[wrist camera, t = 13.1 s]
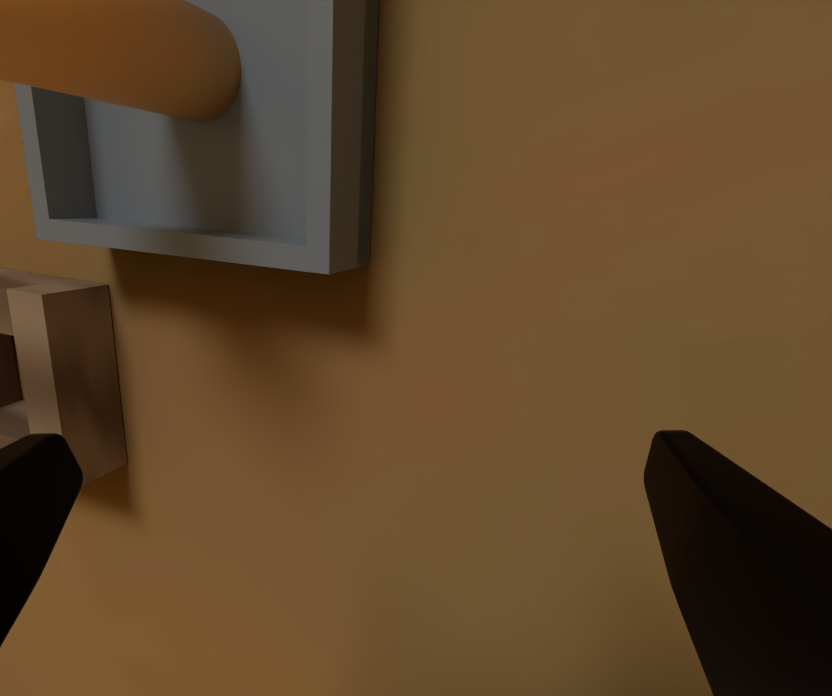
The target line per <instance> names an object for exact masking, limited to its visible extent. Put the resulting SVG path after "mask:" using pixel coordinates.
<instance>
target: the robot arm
mask: <svg viewBox="0 0 832 696" xmlns="http://www.w3.org/2000/svg"><path fill="white" fill-rule="evenodd" d="M82 483H83V472H82V469H81V467H80V465H79V464H78V462H77V460H76V458H75V456H74V454H73V452H72V450H71V448H70V447H69V445H68V443H67V441H66V439H65V438H64V437H63V436H61V435H60V434H56V433H35V434H30V435H27V436H25V437H23V438H21V439H19V440H17V441H15V442H13V443H11V444H9V445H7V446H5V447H3V448H1V449H0V647H1V645H2V643H3V641H4V640H5V638H6V636H7V635H8V633H9V631H10V629H11V628H12V626H13V624H14V622H15V621H16V619H17V617H18V615H19V614H20V612H21V610H22V608H23V607H24V605H25V603H26V601H27V600H28V598H29V596H30V594H31V593H32V591H33V589H34V587H35V585H36V583H37V582H38V580H39V578H40V576H41V574H42V572H43V570H44V568H45V565H46V563H47V561H48V559H49V557H50V555H51V553H52V550H53V548H54V546H55V544H56V542H57V539H58V537H59V535H60V533H61V531H62V528H63V526H64V524H65V522H66V520H67V518H68V515H69V513H70V511H71V509H72V507H73V504H74V502H75V500H76V498H77V496H78V493H79V491H80V489H81V487H82ZM644 485H645V490H646V494H647V497H648V501H649V505H650V509H651V512H652V516H653V520H654V524H655V527H656V531H657V535H658V539H659V542H660V546H661V550H662V554H663V557H664V561H665V565H666V569H667V572H668V576H669V579H670V582H671V586H672V589H673V592H674V594H675V597H676V600H677V603H678V605H679V608H680V611H681V613H682V616H683V618H684V621H685V623H686V626H687V629H688V631H689V634H690V636H691V639H692V641H693V644H694V647H695V649H696V652H697V654H698V657H699V659H700V662H701V665H702V667H703V670H704V672H705V675H706V677H707V680H708V683H709V685H710V688H711V690H712V693H713V696H832V529H831V528H829V527H828V526H826V525H825V524H823V523H822V522H821V521H819V520H818V519H816V518H815V517H813V516H812V515H810V514H809V513H807V512H806V511H804V510H803V509H801V508H800V507H799V506H797V505H796V504H794V503H793V502H791V501H790V500H788V499H787V498H785V497H784V496H782V495H781V494H779V493H778V492H777V491H775V490H774V489H772V488H771V487H769V486H768V485H766V484H765V483H763V482H762V481H760V480H759V479H757V478H756V477H755V476H753V475H752V474H750V473H749V472H747V471H746V470H744V469H743V468H741V467H740V466H738V465H737V464H735V463H734V462H733V461H731V460H730V459H728V458H727V457H725V456H724V455H722V454H721V453H719V452H718V451H716V450H715V449H713V448H712V447H711V446H709V445H708V444H706V443H705V442H703V441H702V440H700V439H699V438H697V437H696V436H694V435H693V434H691V433H690V432H688V431H683V430H661V431H658V432H657V433H656V434H655V435H654V437H653V439H652V443H651V447H650V451H649V455H648V459H647V462H646V466H645V470H644Z"/></svg>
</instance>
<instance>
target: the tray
mask: <svg viewBox="0 0 832 696" xmlns="http://www.w3.org/2000/svg"><path fill="white" fill-rule="evenodd" d="M186 1H188V2H190V3H192V4H194V5H196V6H198V7H200V8H202V9H204V10H206V11H208V12H210V13H212V14H213V15H215V16H217V17H218V18H219V19H220V20H222V21H223V22H224V23H225V25H226V26H227V27H228V28H229V30H230V31H231V33H232V35H233V37H234V39H235V41H236V44H237V47H238V50H239V55H240V61H241V77H240V84H239V88H238V92H237V94H236V97H235V99H234V101H233V103H232V104H231V106H230V107H229V109H228V110H227V111H226V112H225V113H224V114H223V115H222V116H220V117H219V118H217V119H215V120H212V121H209V122H195V121H190V120H186V119H181V118H176V117H172V116H167V115H162V114H158V113H153V112H148V111H144V110H139V109H134V108H130V107H125V106H121V105H116V104H111V103H107V102H102V101H97V100H93V99H88V98H83V97H79V96H74V95H69V94H65V93H60V92H56V91H51V90H46V89H42V88H37V87H32V86H28V85H23V84H18V83H14V84H15V91H16V98H17V105H18V112H19V119H20V126H21V132H22V139H23V146H24V153H25V160H26V167H27V174H28V181H29V188H30V195H31V202H32V209H33V216H34V222H35V229H36V236H37V239H42V240H50V241H58V242H66V243H75V244H83V245H91V246H99V247H107V248H116V249H124V250H132V251H140V252H148V253H157V254H165V255H173V256H181V257H189V258H197V259H206V260H214V261H222V262H230V263H238V264H247V265H255V266H263V267H271V268H279V269H287V270H296V271H304V272H312V273H320V274H328V275H329V274H333V273H338V272H342V271H346V270H350V269H354V268H358V267H363V266H367V265H369V257H370V231H371V204H372V178H373V151H374V124H375V98H376V71H377V45H378V18H379V0H186Z"/></svg>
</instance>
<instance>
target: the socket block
mask: <svg viewBox="0 0 832 696" xmlns="http://www.w3.org/2000/svg"><path fill="white" fill-rule="evenodd" d="M11 335H12V336H14V339H15V345H16V351H17V357H18V363H19V369H20V375H21V381H22V387H23V393H24V399H25V401H23V400H22V397H21V391H20V385H19V379H18V373H17V367H16V362H15V356H14V350H13V344H12V338H11ZM35 433H56V434H60V435H61V436H63V437H64V438H65V439H66V441H67V443H68V445H69V447H70V448H71V450H72V452H73V454H74V456H75V458H76V460H77V462H78V464H79V465H80V467H81V469H82V472H83V483H82V487H83V486H85V485H87V484H89V483H91V482H92V481H94V480H96V479H98V478H100V477H102V476H104V475H106V474H107V473H109V472H111V471H113V470H115V469H117V468H119V467H120V466H122V465H124V464H126V463H127V456H126V447H125V438H124V428H123V419H122V410H121V401H120V391H119V382H118V373H117V364H116V355H115V345H114V336H113V327H112V318H111V308H110V299H109V290H108V285H107V284H101V283H94V282H87V281H81V280H74V279H68V278H61V277H54V276H48V275H41V274H34V273H28V272H21V271H15V270H8V269H1V268H0V449H1V448H3V447H5V446H7V445H9V444H11V443H13V442H15V441H17V440H19V439H21V438H23V437H25V436H27V435H30V434H35Z"/></svg>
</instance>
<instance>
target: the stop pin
mask: <svg viewBox="0 0 832 696" xmlns="http://www.w3.org/2000/svg"><path fill="white" fill-rule="evenodd" d="M240 77H241V61H240V55H239V50H238V47H237V44H236V41H235V39H234V37H233V35H232V33H231V31H230V30H229V28H228V27H227V26H226V25H225V23H224V22H223V21H222V20H220V19H219V18H218V17H217V16H215V15H213V14H212V13H210V12H208V11H206V10H204V9H202V8H200V7H198V6H196V5H194V4H192V3H190V2H188V1H186V0H0V80H4V81H9V82H14V83H18V84H23V85H28V86H32V87H37V88H42V89H46V90H51V91H56V92H60V93H65V94H69V95H74V96H79V97H83V98H88V99H93V100H97V101H102V102H107V103H111V104H116V105H121V106H125V107H130V108H134V109H139V110H144V111H148V112H153V113H158V114H162V115H167V116H172V117H176V118H181V119H186V120H190V121H195V122H209V121H212V120H215V119H217V118H219V117H220V116H222V115H223V114H224V113H225V112H226V111H227V110H228V109H229V107H230V106H231V104H232V103H233V101H234V99H235V97H236V94H237V92H238V88H239V84H240Z"/></svg>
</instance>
